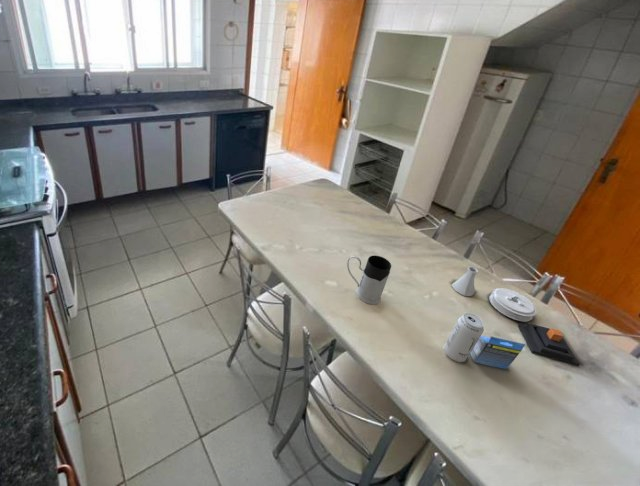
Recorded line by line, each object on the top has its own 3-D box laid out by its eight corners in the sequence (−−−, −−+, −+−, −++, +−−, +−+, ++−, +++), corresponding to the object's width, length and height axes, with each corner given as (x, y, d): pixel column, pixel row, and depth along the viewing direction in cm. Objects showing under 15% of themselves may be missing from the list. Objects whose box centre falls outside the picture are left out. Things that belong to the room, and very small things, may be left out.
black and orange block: (552, 336, 106) (560, 325, 104) (563, 354, 100) (572, 344, 98) (534, 331, 107) (542, 320, 105) (544, 349, 101) (552, 338, 99)
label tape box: (499, 360, 98) (518, 332, 92) (506, 372, 94) (526, 344, 89) (467, 353, 99) (484, 325, 93) (473, 365, 96) (491, 337, 90)
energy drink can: (458, 368, 94) (479, 332, 87) (438, 351, 99) (457, 316, 92) (468, 358, 97) (490, 324, 90) (448, 343, 102) (467, 308, 95)
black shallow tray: (559, 336, 107) (563, 331, 106) (578, 366, 98) (583, 361, 97) (517, 325, 110) (520, 319, 109) (531, 352, 101) (535, 347, 100)
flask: (461, 281, 128) (471, 261, 123) (478, 294, 122) (489, 274, 117) (447, 284, 126) (457, 264, 121) (463, 298, 120) (474, 277, 115)
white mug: (378, 308, 112) (391, 275, 105) (338, 291, 118) (347, 258, 111) (382, 292, 119) (395, 260, 112) (344, 276, 125) (353, 245, 118)
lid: (480, 298, 120) (485, 288, 118) (504, 292, 124) (510, 282, 122) (514, 326, 109) (521, 316, 107) (539, 319, 113) (547, 309, 111)
